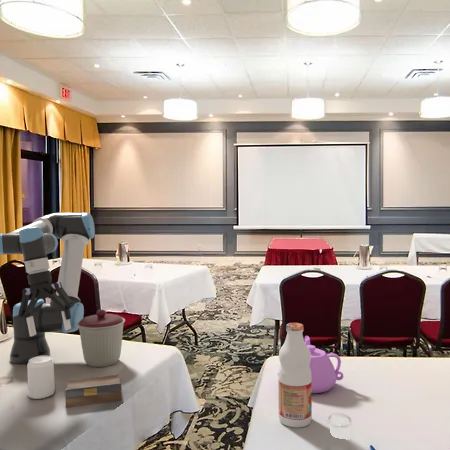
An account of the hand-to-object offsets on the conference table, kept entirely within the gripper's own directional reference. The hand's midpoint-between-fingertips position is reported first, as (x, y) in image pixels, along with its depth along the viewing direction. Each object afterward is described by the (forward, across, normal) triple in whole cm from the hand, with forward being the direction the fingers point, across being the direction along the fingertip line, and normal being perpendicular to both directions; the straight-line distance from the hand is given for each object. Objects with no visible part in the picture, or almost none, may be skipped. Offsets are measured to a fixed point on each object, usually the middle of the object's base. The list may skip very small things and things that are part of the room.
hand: (50, 332), depth 161 cm
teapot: (+36, +82, +18) cm, 91 cm away
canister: (+19, +3, +24) cm, 31 cm away
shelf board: (+22, +13, -3) cm, 26 cm away
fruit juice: (+36, +78, -10) cm, 87 cm away
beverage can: (+19, -3, -7) cm, 20 cm away
